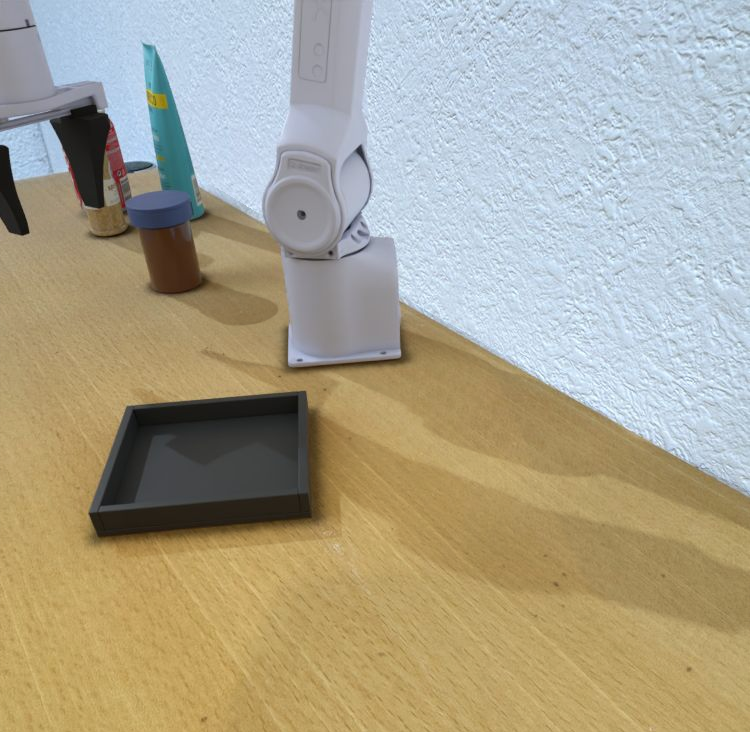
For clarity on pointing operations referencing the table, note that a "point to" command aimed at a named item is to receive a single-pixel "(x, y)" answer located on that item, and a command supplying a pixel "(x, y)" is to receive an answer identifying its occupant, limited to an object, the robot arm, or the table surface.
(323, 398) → the table surface
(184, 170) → the tube
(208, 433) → the tray
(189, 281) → the jar
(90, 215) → the sprinkles bottle
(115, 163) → the seasoning shaker
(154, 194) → the lid
